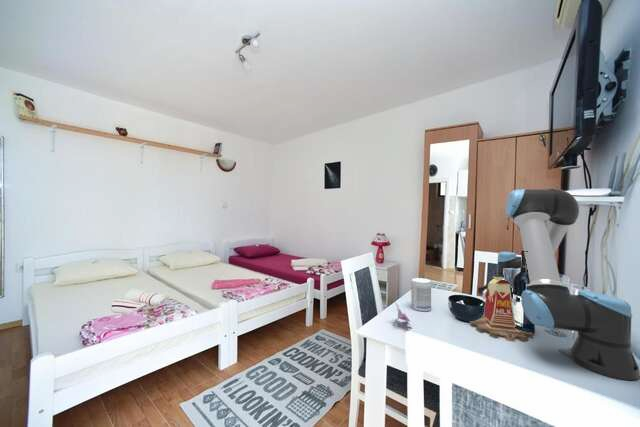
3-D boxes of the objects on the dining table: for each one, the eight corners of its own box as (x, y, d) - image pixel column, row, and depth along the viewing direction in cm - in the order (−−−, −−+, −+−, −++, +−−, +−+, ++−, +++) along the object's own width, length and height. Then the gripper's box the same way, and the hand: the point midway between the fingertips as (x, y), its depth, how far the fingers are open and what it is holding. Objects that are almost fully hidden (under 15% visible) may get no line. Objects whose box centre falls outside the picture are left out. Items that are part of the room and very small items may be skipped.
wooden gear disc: (544, 345, 97) (544, 337, 97) (478, 337, 103) (478, 329, 103) (517, 321, 118) (517, 314, 118) (463, 315, 124) (464, 309, 124)
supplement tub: (434, 309, 132) (435, 280, 131) (424, 313, 126) (424, 283, 126) (417, 303, 139) (418, 276, 139) (407, 307, 134) (407, 279, 134)
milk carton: (516, 327, 105) (516, 278, 105) (490, 325, 107) (491, 277, 107) (505, 318, 114) (506, 273, 114) (482, 316, 116) (483, 272, 116)
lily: (408, 337, 104) (419, 315, 105) (382, 320, 109) (392, 300, 110) (408, 333, 115) (418, 314, 116) (384, 318, 120) (393, 300, 121)
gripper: (534, 300, 116) (533, 315, 100) (477, 290, 131) (467, 301, 114) (534, 283, 116) (533, 295, 99) (477, 275, 131) (468, 284, 114)
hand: (498, 298), depth 107 cm, fingers closed on milk carton, 10 cm apart
